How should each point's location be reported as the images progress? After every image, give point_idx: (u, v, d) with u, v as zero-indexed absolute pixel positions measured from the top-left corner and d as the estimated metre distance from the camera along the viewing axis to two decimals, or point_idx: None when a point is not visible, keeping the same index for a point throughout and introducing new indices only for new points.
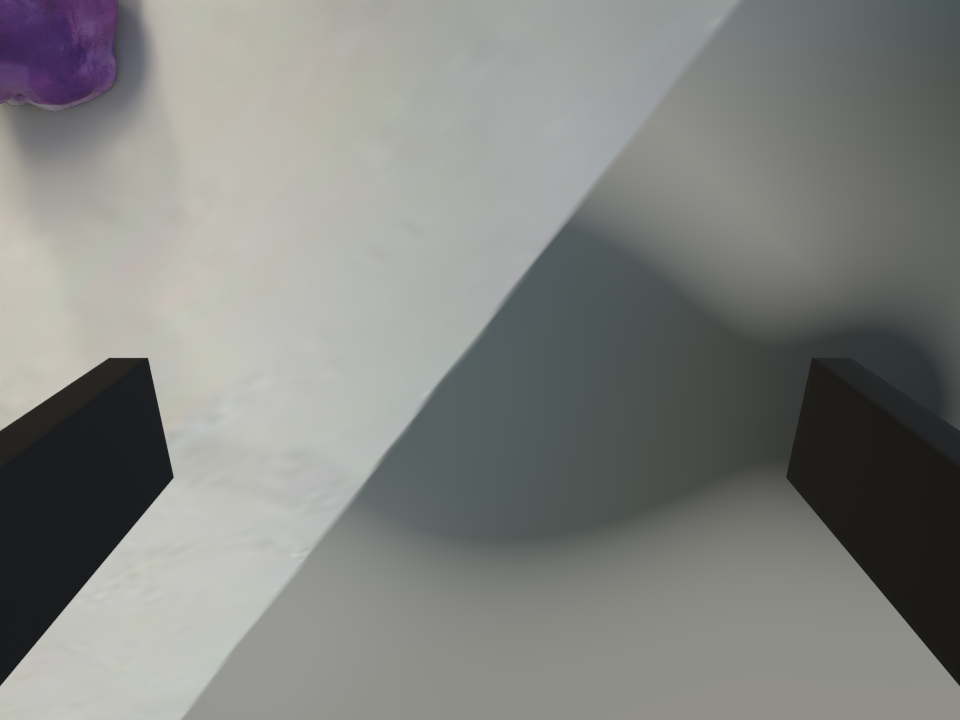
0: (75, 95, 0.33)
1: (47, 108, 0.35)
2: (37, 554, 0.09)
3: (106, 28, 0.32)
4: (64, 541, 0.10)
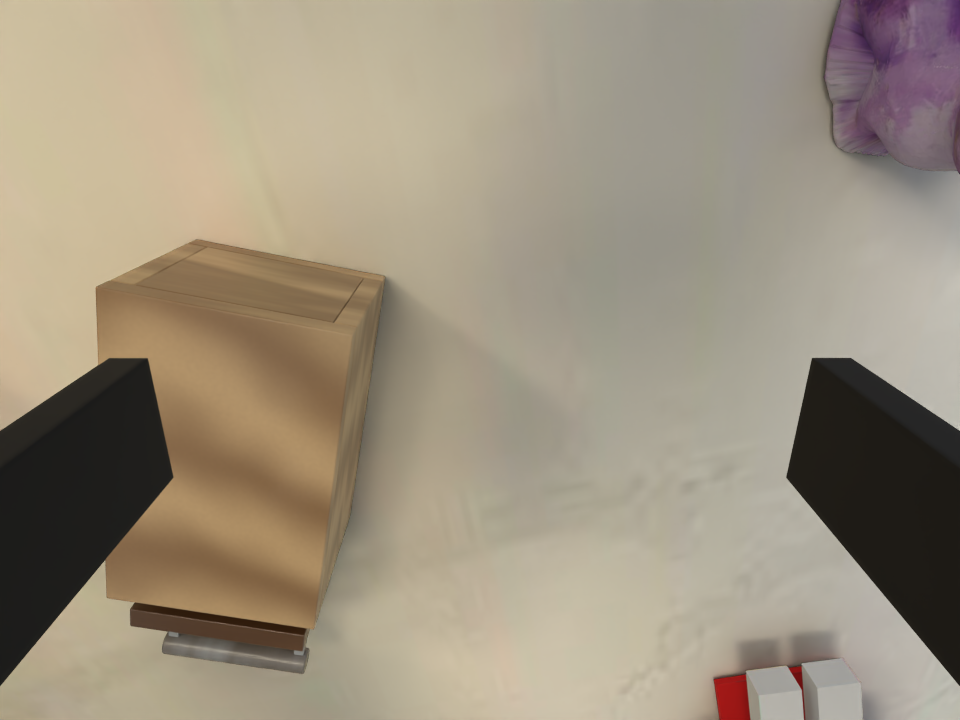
0: None
1: None
2: (37, 554, 0.09)
3: None
4: (64, 541, 0.10)
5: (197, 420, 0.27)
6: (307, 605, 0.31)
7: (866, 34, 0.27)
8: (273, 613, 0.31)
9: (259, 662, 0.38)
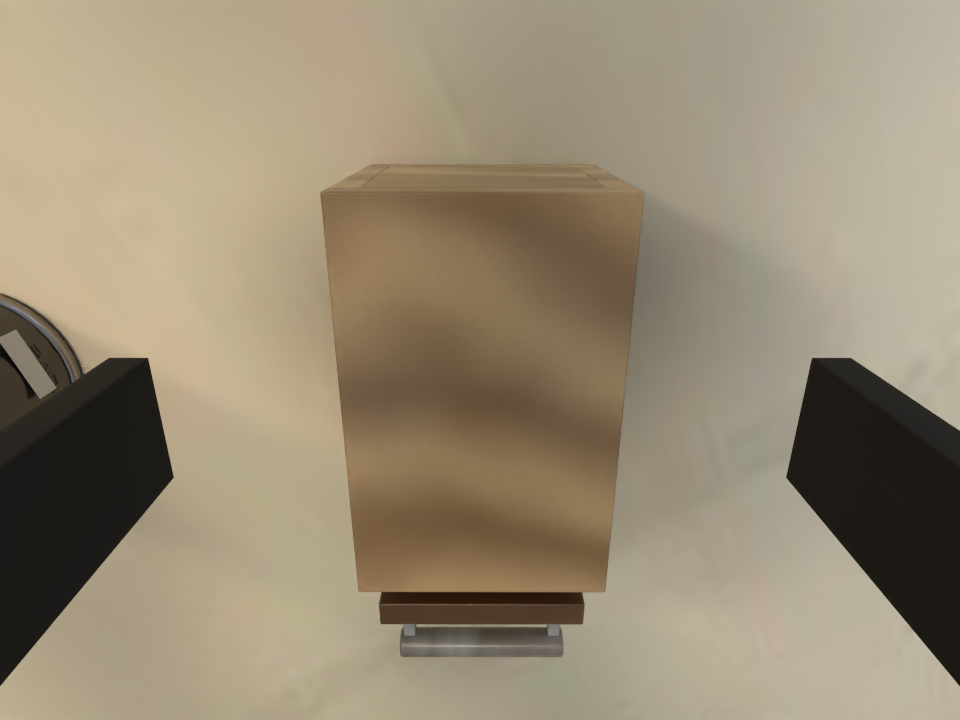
0: None
1: None
2: (37, 554, 0.09)
3: None
4: (64, 541, 0.10)
5: (453, 346, 0.22)
6: (596, 562, 0.25)
7: None
8: (555, 579, 0.26)
9: (511, 650, 0.33)
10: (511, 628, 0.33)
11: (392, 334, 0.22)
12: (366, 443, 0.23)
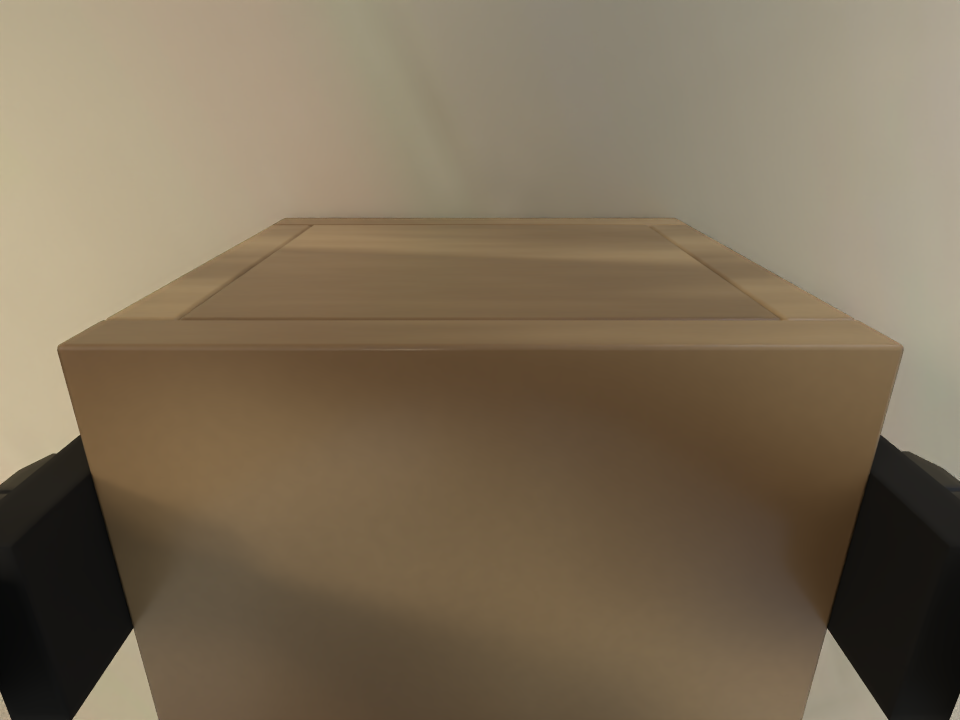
0: None
1: None
2: None
3: None
4: None
5: (415, 668, 0.10)
6: None
7: None
8: None
9: None
10: None
11: (272, 646, 0.09)
12: None
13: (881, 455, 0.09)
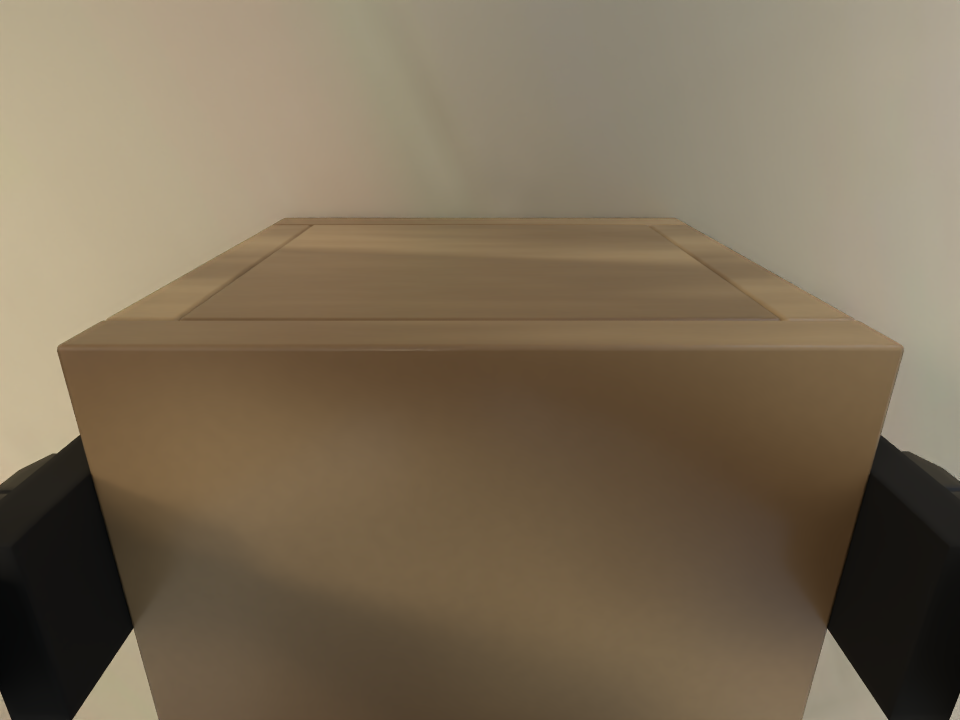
0: None
1: None
2: None
3: None
4: None
5: (415, 669, 0.10)
6: None
7: None
8: None
9: None
10: None
11: (272, 646, 0.09)
12: None
13: (881, 455, 0.09)
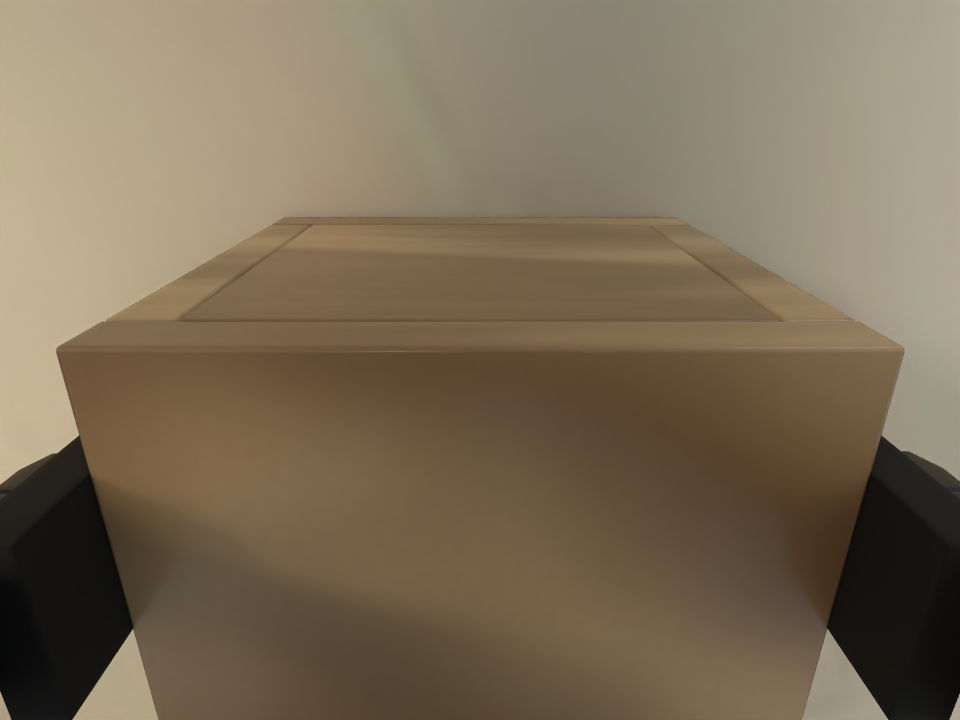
0: None
1: None
2: None
3: None
4: None
5: (415, 669, 0.10)
6: None
7: None
8: None
9: None
10: None
11: (272, 647, 0.09)
12: None
13: (881, 455, 0.09)
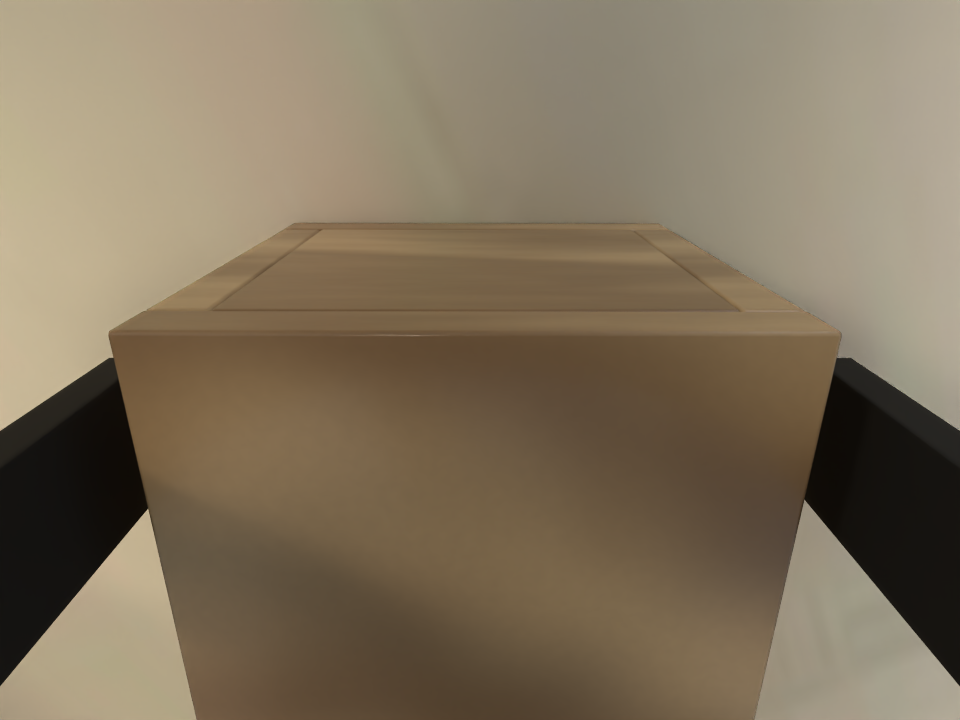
0: None
1: None
2: (36, 555, 0.09)
3: None
4: (64, 541, 0.10)
5: (418, 624, 0.11)
6: None
7: None
8: None
9: None
10: None
11: (290, 603, 0.10)
12: None
13: None
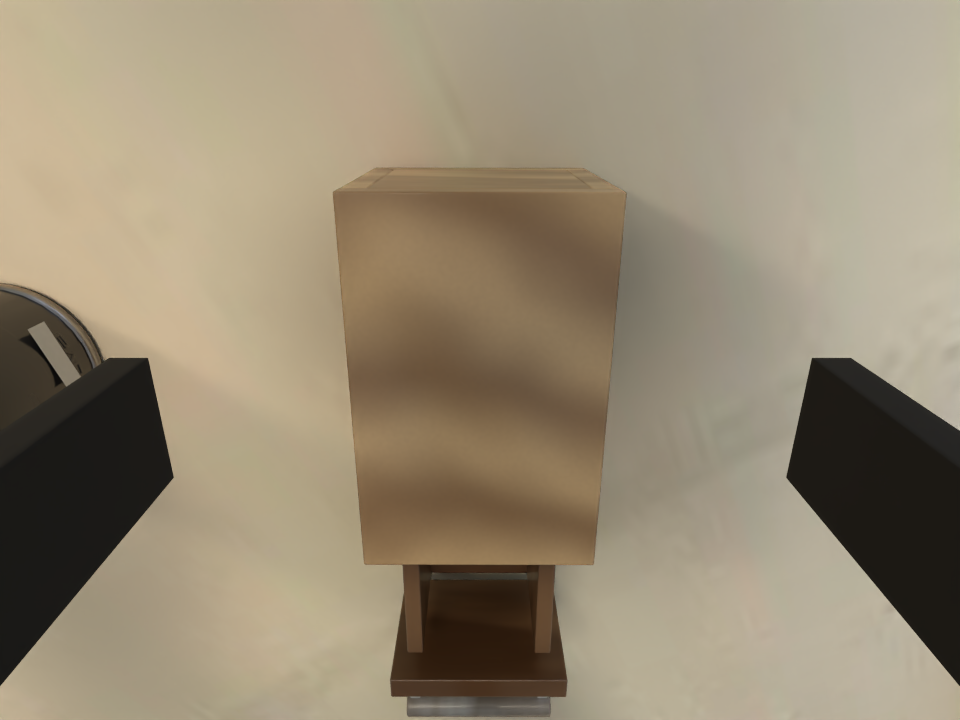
0: None
1: None
2: (37, 554, 0.09)
3: None
4: (64, 541, 0.10)
5: (453, 333, 0.24)
6: (585, 536, 0.27)
7: None
8: (547, 552, 0.28)
9: (505, 711, 0.37)
10: None
11: (397, 322, 0.24)
12: (372, 423, 0.25)
13: None
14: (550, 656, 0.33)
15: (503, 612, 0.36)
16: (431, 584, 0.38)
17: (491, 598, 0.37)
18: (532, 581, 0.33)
